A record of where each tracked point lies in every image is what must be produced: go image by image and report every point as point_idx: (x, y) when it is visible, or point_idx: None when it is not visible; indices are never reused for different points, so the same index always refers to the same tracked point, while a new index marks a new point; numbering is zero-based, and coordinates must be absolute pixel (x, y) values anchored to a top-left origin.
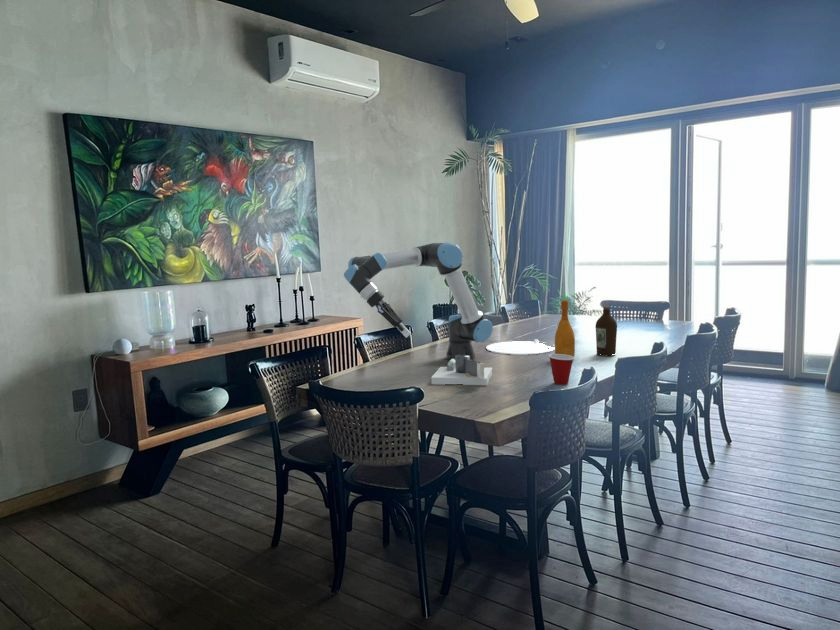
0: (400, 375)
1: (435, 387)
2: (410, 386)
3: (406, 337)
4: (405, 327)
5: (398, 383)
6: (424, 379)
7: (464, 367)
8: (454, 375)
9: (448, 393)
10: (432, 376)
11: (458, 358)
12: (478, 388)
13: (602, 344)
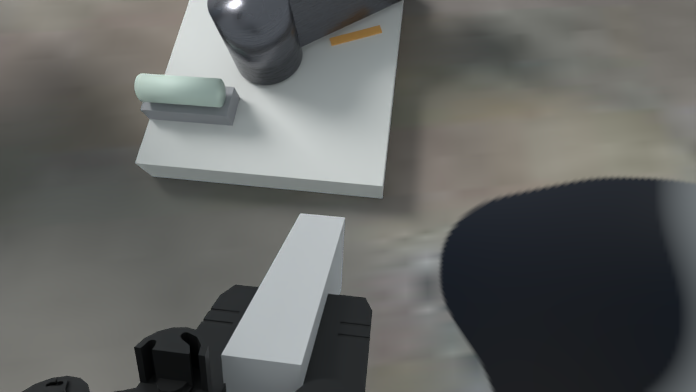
0: None
1: (445, 175)
2: (430, 298)
3: (340, 282)
4: (291, 272)
5: None
6: (279, 241)
7: (305, 28)
8: (343, 86)
9: (550, 114)
10: (361, 182)
11: (281, 19)
12: (453, 16)
13: None
